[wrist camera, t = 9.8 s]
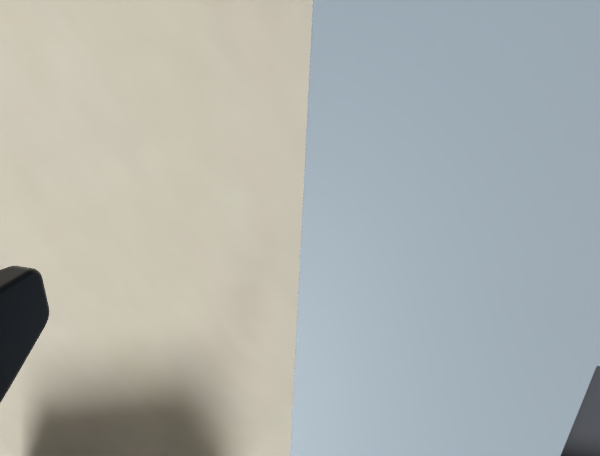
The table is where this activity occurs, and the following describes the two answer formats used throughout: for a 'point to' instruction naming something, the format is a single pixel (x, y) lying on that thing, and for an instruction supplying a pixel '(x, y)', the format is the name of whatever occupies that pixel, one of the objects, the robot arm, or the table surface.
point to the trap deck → (450, 230)
